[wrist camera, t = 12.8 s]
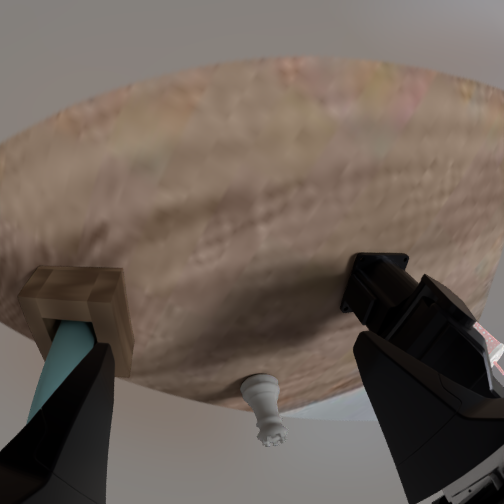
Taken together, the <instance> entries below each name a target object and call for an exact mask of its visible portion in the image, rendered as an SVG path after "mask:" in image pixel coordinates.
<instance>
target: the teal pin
mask: <svg viewBox="0 0 504 504" xmlns="http://www.w3.org/2000/svg"><path fill="white" fill-rule="evenodd" d="M95 338H96V334H95V331H94V327H93V324H92V322H85V321H72V320H62V321H61V323H60V325H59V328H58V330H57V333H56V335H55V338H54V340H53V343H52V345H51V348H50V350H49V353H48V356H47V358H46V361H45V364H44V367H43V370H42V373H41V376H40V379H39V382H38V385H37V388H36V392H35V395H34V398H33V402H32V405H31V409H30V413H29V416H28V420H27V423H28V422H29V421H30V420H31V419H32V418H33V416H34V415H35V414H36V413H37V412H38V410H39V409H41V407H42V406H43V404H44V403H45V402H46V401H47V400H48V398H49V397H50V396H51V395H52V394H53V392H54V391H55V390H56V389H57V388H58V387H59V385H60V384H61V383H62V382H63V381H64V380H65V378H66V377H67V376H68V375H69V374H70V373H71V372H72V370H73V369H74V368H75V367H76V366H77V365H78V364H79V362H80V361H81V360H82V359H83V358H84V357H85V356H86V355H87V353H88V352H89V351H90V350H91V349H92V348H93V346H94V342H95ZM26 425H27V424H26Z"/></svg>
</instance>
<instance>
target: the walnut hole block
mask: <svg viewBox="0 0 504 504" xmlns="http://www.w3.org/2000/svg"><path fill="white" fill-rule="evenodd" d="M17 297H18V300H19V303H20V305H21V308H22V311H23V313H24V316H25V318H26V321H27V323H28V326H29V328H30V331H31V333H32V335H33V338H34V340H35V342H36V344H37V346H38V348H39V351H40V353H41V354H42V357H43V359H44V361H46V358H47V356H48V353H49V350H50V348H51V345H52V343H53V340H54V338H55V335H56V333H57V330H58V328H59V325H60V323H61V321H62V320H72V321H85V322H92V324H93V327H94V331H95V334H96V338H95V342H94V346H95V345H96V344H97V343H98V342H104V343H109V344H110V346H111V349H112V353H113V356H114V359H115V376H114V377H127V378H129V377H130V369H131V361H132V354H133V347H134V336H133V331H132V326H131V320H130V315H129V309H128V303H127V296H126V289H125V282H124V274H123V268H96V267H62V266H39V267H38V268H37V269H36V271H35V272H34V273H33V275H32V276H31V278H30V279H29V280H28V282H27V283H26V285H25V286H24V287H23V289H22V290H21V292H20V293H19V295H18V296H17ZM94 346H93V347H94Z"/></svg>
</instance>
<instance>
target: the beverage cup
mask: <svg viewBox="0 0 504 504" xmlns="http://www.w3.org/2000/svg"><path fill="white" fill-rule="evenodd" d="M473 327H474V328H475V329H476V330H477V331H478V332H479V333H480V334H481V335H482V336H483V337H484V338H485V340H486V344H487V349H488V353H489V358H490V363H491V368H492V367H493V366H494V365H495V366H496V367H497V368H498V369H499V371H500V372H501V373H502V374H503V375H504V371H503V370H502V368H501V367H500V366H499V365H498V364H497V363H496V362H497V361H498V360H499V358H500V357H501V356H502V354H503V352H504V345H503V344H500V343H499V342H498V341H497V340H496V339H495V338H494V337H493V336H492V335H491V334H490V333H488V332H487V331H486V330H485V329H484V328H483V327H482V326H480V325H479V324H478V323H477V322H476V323H475V324H474V325H473Z"/></svg>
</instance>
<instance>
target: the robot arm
mask: <svg viewBox="0 0 504 504" xmlns="http://www.w3.org/2000/svg"><path fill="white" fill-rule="evenodd" d="M361 258H362V259H361ZM360 259H361V260H360ZM408 260H409V256H408V255H407V254H405V253H360V254H358V255H357V257H356V259H355V263H354V266H353V269H352V272H351V276H350V278H349V281H348V284H347V287H346V291H345V294H344V297H343V300H342V303H341V306H340V310H341V311H342V312H343V313H349V312H354V314H355V315H356V316H357V318H358V319H359V321H360V322H361V323H362V325H366V326H367V328H368V329H369V331H363V332H360V333H359V335H358V337H357V340H356V342H355V344H354V346H353V353H354V356H355V359H356V363H357V366H358V369H359V372H360V376H361V379H362V382H363V385H364V387H365V390H366V392H367V395H368V397H369V399H370V402H371V404H372V407H373V409H374V412H375V414H376V416H377V419H378V421H379V424H380V426H381V429H382V432H383V434H384V437H385V439H386V442H387V444H388V447H389V449H390V452H391V455H392V457H393V460H394V463H395V466H396V469H397V471H398V474H399V477H400V480H401V483H402V485H403V488H404V491H405V494H406V497H407V500H408V503H409V504H417V503H418V502H420V501H422V500H424V499H426V498H428V497H430V496H431V495H433V494H435V493H437V492H438V491H440V490H442V491H443V493H444V495H442V496H441V497H439V498H438V499H437V500H435V501H433V502H432V504H504V387H503V386H502V385H501V384H500V383H499V382H498V381H497V380H496V379H495V377H494V376H493V374H492V368H491V363H490V358H489V353H488V349H487V344H486V340H485V338H484V337H483V336H482V335H481V334H480V333H479V332H478V331H477V330H476V329H475V328H474V327H473V325H474V324H475V323H476V321H477V320H476V319H475V317H474V316H473V314H472V313H471V312H470V310H469V309H468V307H467V306H466V305H465V303H464V302H463V301H462V300H461V299H460V298H459V297H458V296H457V295H455V294H454V293H453V292H452V291H451V290H450V289H448V288H447V287H446V286H444V285H443V284H441V283H439V282H438V281H436V280H434V279H433V278H431V277H430V276H428V275H426V274H424V275H423V277H422V278H421V281H420V283H418V282H417V281H416V280H414V279H413V278H412V277H411V276H410V275H409V274H408V273H407V272H406V271H405V268H406V266H407V263H408ZM345 307H346V308H345ZM114 376H115V359H114V356H113V353H112V349H111V346H110V344H109V343H104V342H98V343H97V344H96V345H95V346H94V347H93V348H92V349H91V350H90V351H89V352H88V353H87V355H86V356H85V357H84V358H83V359H82V360H81V361H80V362H79V364H78V365H77V366H76V367H75V368H74V369H73V370H72V372H71V373H70V374H69V375H68V376H67V377H66V378H65V380H64V381H63V382H62V383H61V384H60V385H59V387H58V388H57V389H56V390H55V391H54V392H53V394H52V395H51V396H50V397H49V398H48V400H47V401H46V402H45V403H44V404H43V406H42V407H41V409H39V410H38V412H37V413H36V414H35V415H34V416H33V418H32V419H31V420H30V421H29V422H28V423H27V425H26V426H25V427H24V428H23V429H22V430H21V431H20V432H19V433H18V434H17V435H16V436H15V437H14V438H13V439H12V440H11V441H10V442H9V443H8V444H7V445H6V446H5V447H4V448H3V449H2V450H1V451H0V504H106V477H107V460H108V448H109V437H110V429H111V420H112V412H113V404H114Z"/></svg>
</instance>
